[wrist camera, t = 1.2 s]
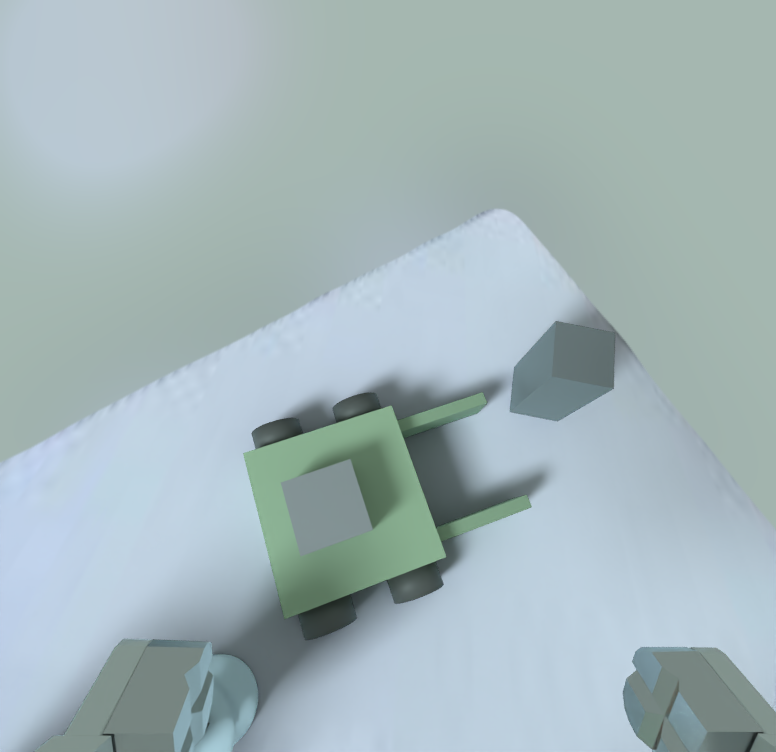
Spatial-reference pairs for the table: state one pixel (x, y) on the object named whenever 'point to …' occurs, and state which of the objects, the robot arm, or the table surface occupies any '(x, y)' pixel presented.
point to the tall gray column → (563, 371)
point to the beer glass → (229, 704)
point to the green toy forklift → (352, 509)
